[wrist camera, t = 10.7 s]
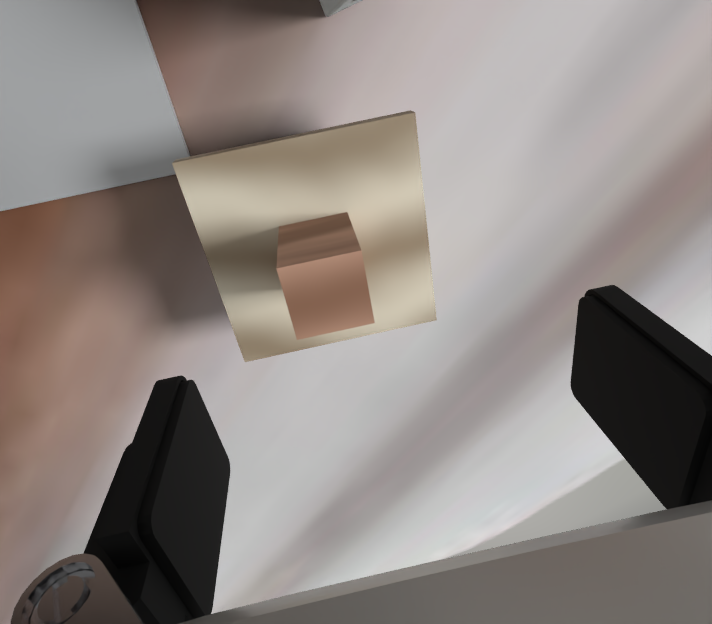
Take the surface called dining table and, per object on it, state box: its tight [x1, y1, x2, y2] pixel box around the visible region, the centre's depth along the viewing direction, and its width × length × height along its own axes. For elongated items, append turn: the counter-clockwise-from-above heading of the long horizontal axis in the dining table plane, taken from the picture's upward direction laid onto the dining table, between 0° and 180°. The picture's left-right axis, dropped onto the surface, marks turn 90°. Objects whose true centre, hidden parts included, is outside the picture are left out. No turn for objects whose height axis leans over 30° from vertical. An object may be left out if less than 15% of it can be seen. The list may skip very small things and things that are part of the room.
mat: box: [0, 0, 190, 211], centre depth 27 cm, size 14×14×1 cm
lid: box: [172, 111, 437, 362], centre depth 25 cm, size 13×13×7 cm
